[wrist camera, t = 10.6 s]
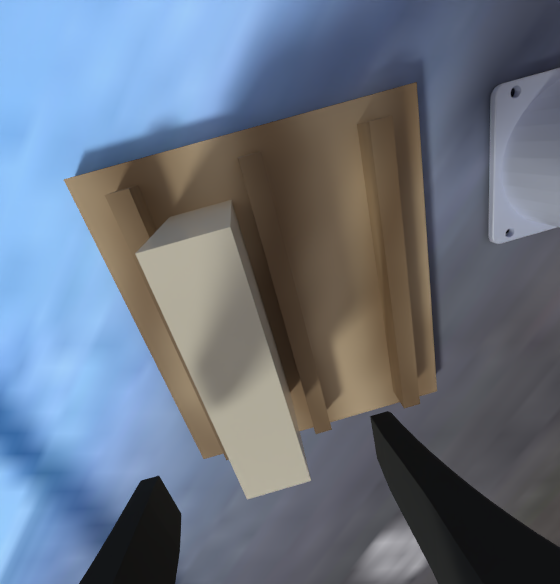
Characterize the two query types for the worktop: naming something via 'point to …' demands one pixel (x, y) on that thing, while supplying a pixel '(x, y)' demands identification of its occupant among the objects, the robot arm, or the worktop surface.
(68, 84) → the worktop surface
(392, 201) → the ridged tan board
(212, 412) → the cream rectangular block
